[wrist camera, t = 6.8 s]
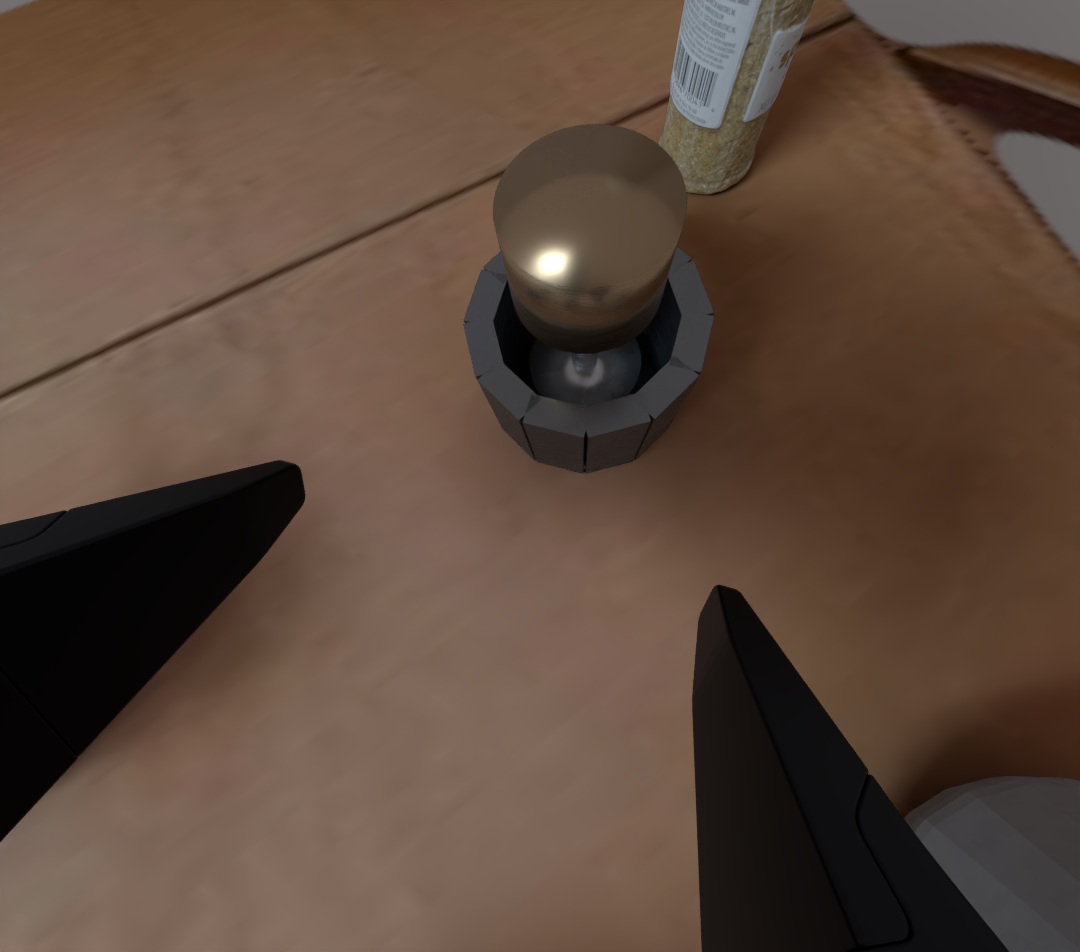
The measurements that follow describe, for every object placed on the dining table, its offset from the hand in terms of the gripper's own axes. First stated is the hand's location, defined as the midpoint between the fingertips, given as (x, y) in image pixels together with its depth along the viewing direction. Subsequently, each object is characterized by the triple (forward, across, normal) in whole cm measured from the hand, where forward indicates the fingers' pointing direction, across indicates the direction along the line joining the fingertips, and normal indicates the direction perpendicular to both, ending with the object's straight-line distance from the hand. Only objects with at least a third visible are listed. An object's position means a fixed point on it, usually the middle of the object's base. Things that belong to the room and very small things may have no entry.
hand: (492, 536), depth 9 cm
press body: (+13, 0, 0) cm, 13 cm away
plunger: (+11, 0, 0) cm, 11 cm away
